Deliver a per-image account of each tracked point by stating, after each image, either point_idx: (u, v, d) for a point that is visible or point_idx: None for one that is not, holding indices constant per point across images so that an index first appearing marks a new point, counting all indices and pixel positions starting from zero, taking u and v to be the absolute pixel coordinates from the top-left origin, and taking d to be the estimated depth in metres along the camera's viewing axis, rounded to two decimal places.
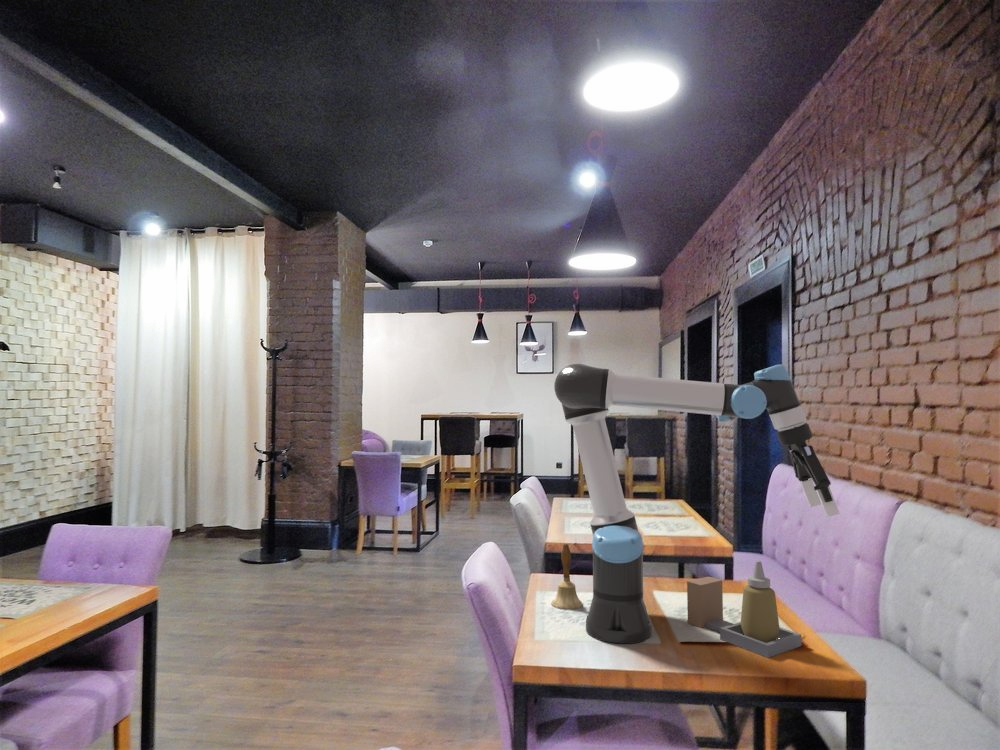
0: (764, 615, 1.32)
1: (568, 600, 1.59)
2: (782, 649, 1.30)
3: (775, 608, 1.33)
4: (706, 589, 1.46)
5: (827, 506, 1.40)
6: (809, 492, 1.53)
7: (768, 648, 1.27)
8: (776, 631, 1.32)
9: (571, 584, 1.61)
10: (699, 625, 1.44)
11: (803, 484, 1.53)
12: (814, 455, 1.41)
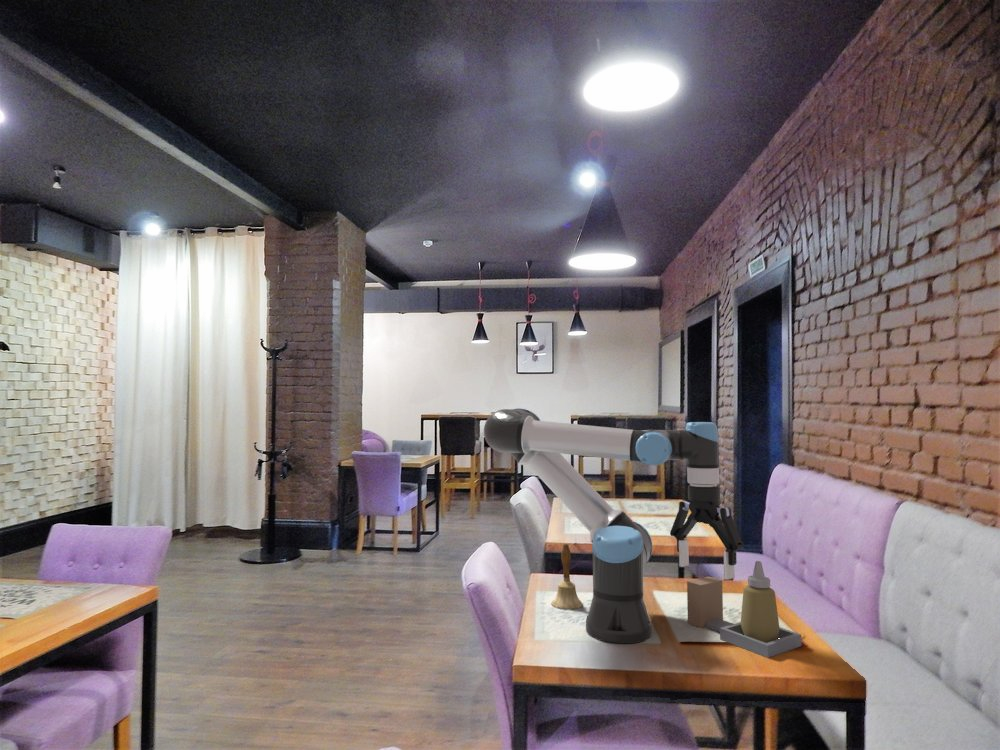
0: (764, 615, 1.32)
1: (568, 600, 1.59)
2: (782, 649, 1.30)
3: (775, 608, 1.33)
4: (706, 589, 1.46)
5: (728, 569, 1.42)
6: (684, 552, 1.54)
7: (768, 648, 1.27)
8: (776, 631, 1.32)
9: (571, 584, 1.61)
10: (699, 625, 1.44)
11: (682, 543, 1.54)
12: (731, 517, 1.44)
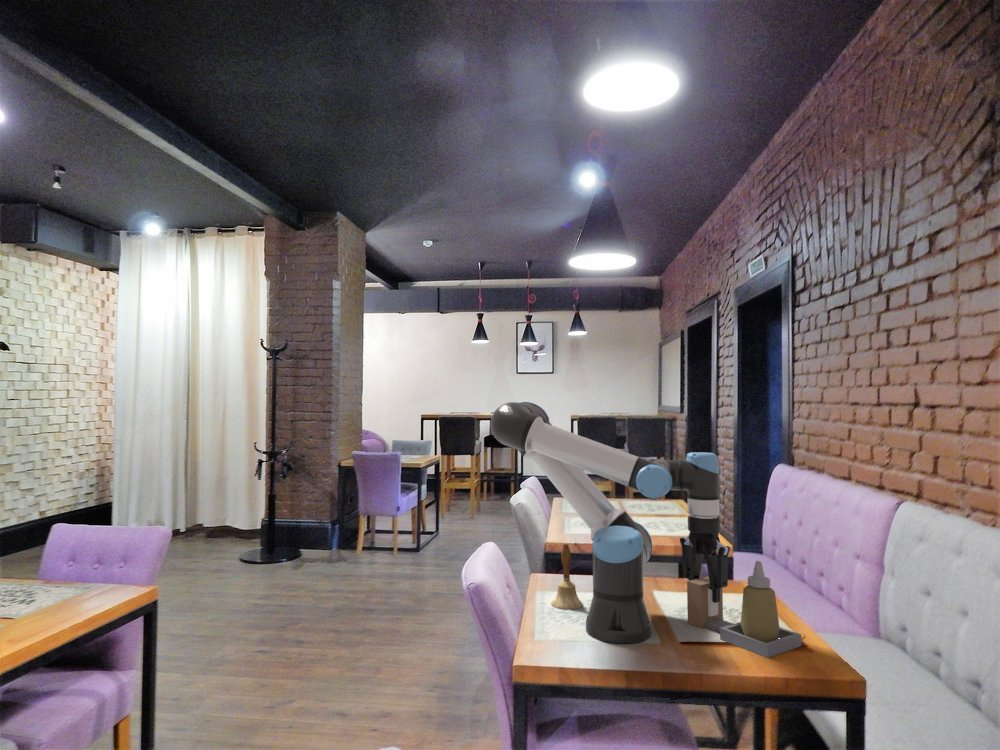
0: (764, 615, 1.32)
1: (568, 600, 1.59)
2: (782, 649, 1.30)
3: (775, 608, 1.33)
4: (706, 589, 1.46)
5: (712, 606, 1.45)
6: None
7: (768, 648, 1.27)
8: (776, 631, 1.32)
9: (571, 584, 1.61)
10: (699, 625, 1.44)
11: None
12: (726, 557, 1.44)
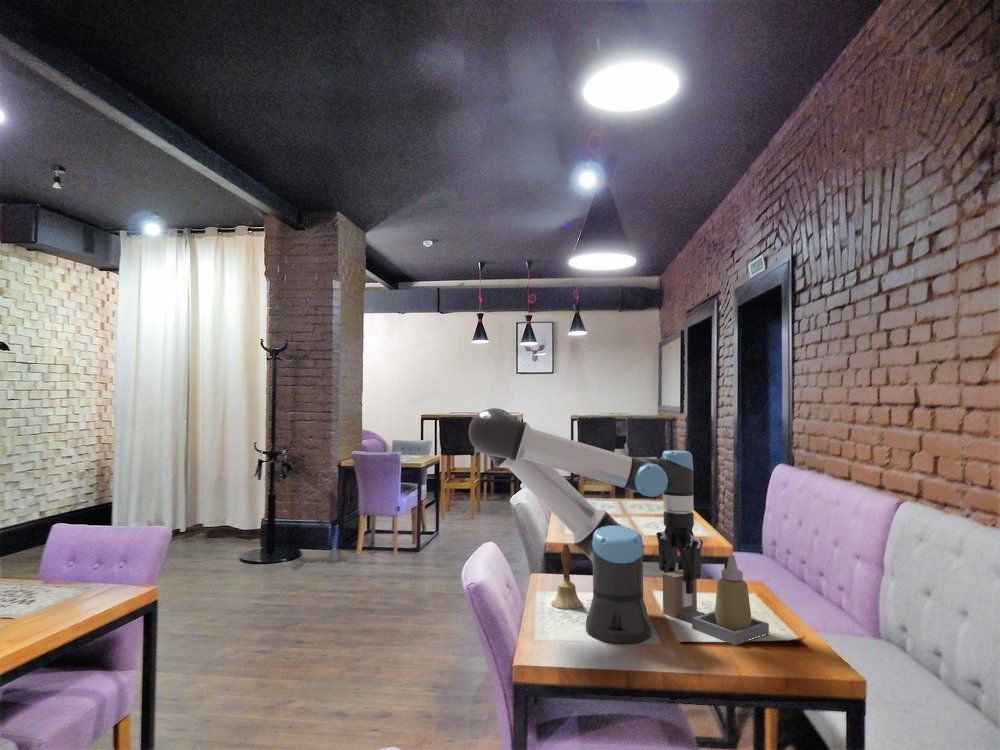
0: (738, 606, 1.38)
1: (568, 600, 1.59)
2: (749, 637, 1.36)
3: (747, 599, 1.39)
4: (680, 581, 1.52)
5: (686, 597, 1.52)
6: None
7: (735, 636, 1.34)
8: (748, 621, 1.38)
9: (571, 584, 1.61)
10: (673, 615, 1.51)
11: None
12: (699, 550, 1.51)
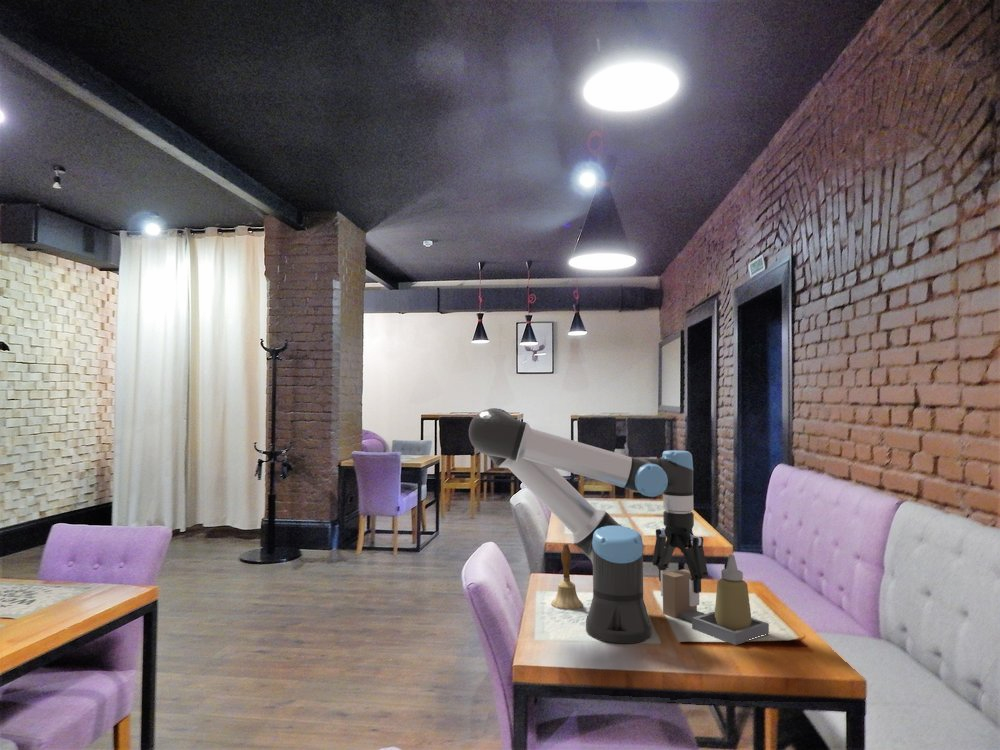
0: (737, 606, 1.38)
1: (568, 600, 1.59)
2: (749, 637, 1.36)
3: (747, 599, 1.39)
4: (680, 581, 1.52)
5: (693, 596, 1.50)
6: None
7: (735, 636, 1.34)
8: (748, 621, 1.38)
9: (571, 584, 1.61)
10: (673, 615, 1.51)
11: None
12: (702, 547, 1.50)
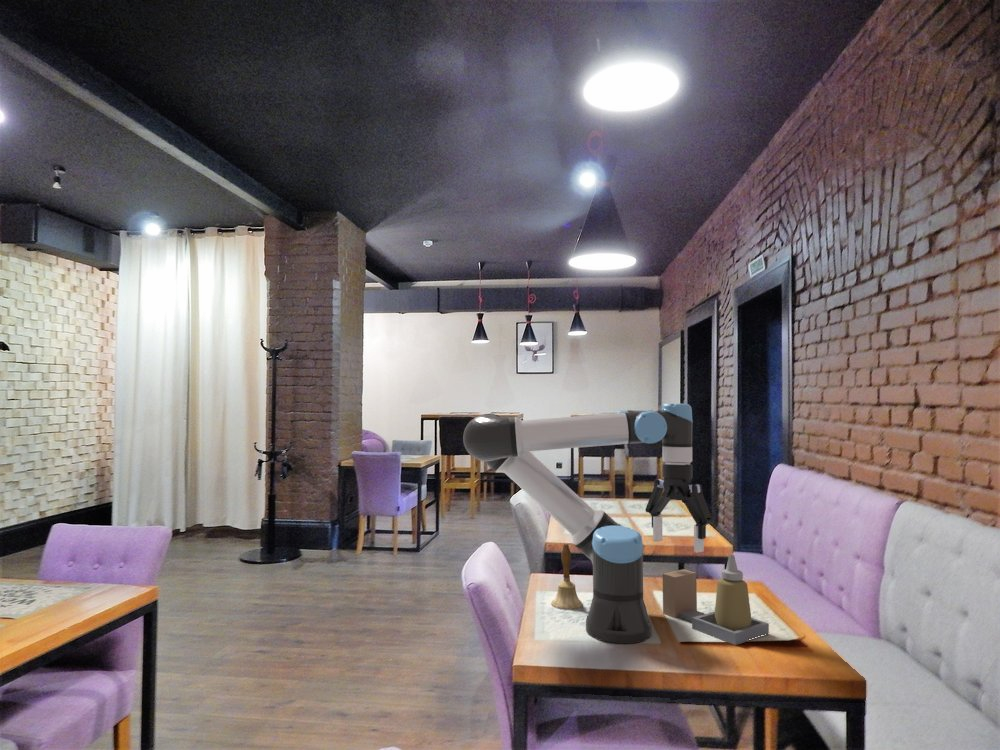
0: (737, 606, 1.38)
1: (568, 600, 1.59)
2: (749, 637, 1.36)
3: (747, 599, 1.39)
4: (680, 581, 1.52)
5: (698, 542, 1.49)
6: (657, 527, 1.61)
7: (735, 636, 1.34)
8: (748, 621, 1.38)
9: (571, 584, 1.61)
10: (673, 615, 1.51)
11: (656, 519, 1.61)
12: (701, 494, 1.51)
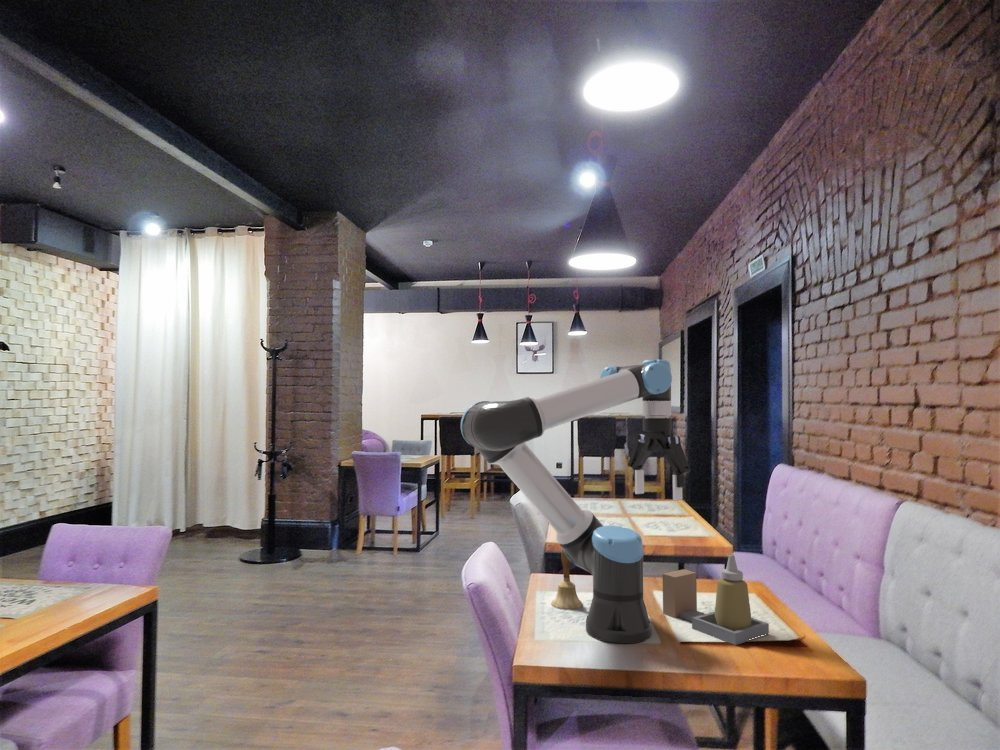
0: (737, 606, 1.38)
1: (568, 600, 1.59)
2: (749, 637, 1.36)
3: (747, 599, 1.39)
4: (680, 581, 1.52)
5: (676, 491, 1.56)
6: (639, 480, 1.68)
7: (735, 636, 1.34)
8: (748, 621, 1.38)
9: (571, 584, 1.61)
10: (673, 615, 1.51)
11: (637, 472, 1.67)
12: (680, 445, 1.57)
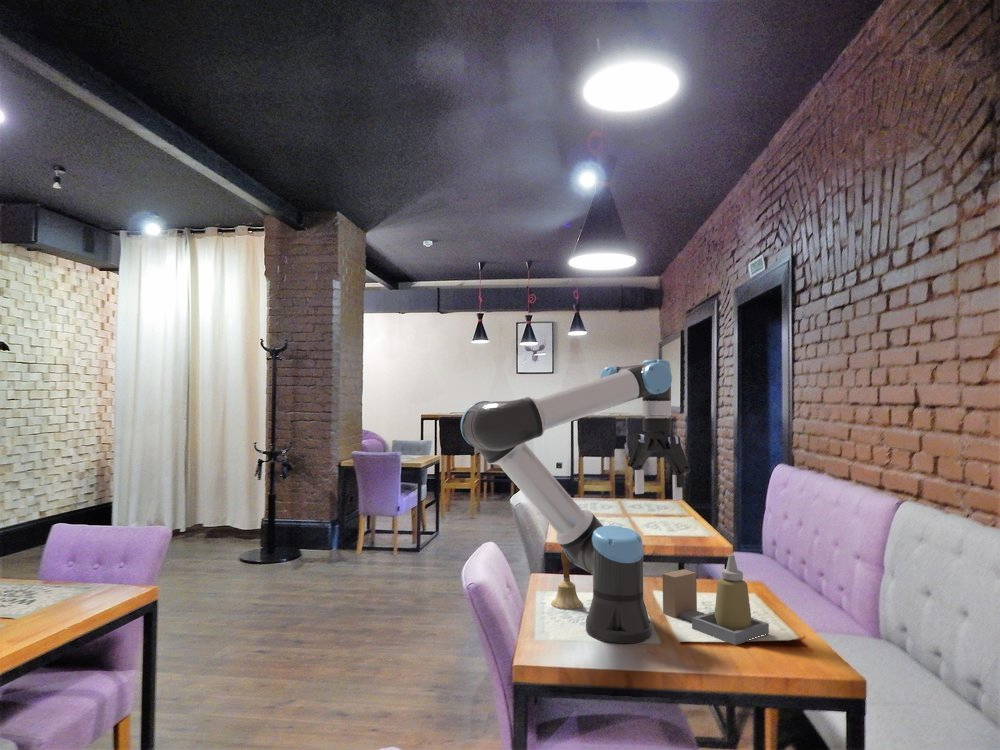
0: (737, 606, 1.38)
1: (568, 600, 1.59)
2: (749, 637, 1.36)
3: (747, 599, 1.39)
4: (680, 581, 1.52)
5: (676, 491, 1.56)
6: (639, 480, 1.68)
7: (735, 636, 1.34)
8: (748, 621, 1.38)
9: (571, 584, 1.61)
10: (673, 615, 1.51)
11: (637, 472, 1.67)
12: (680, 445, 1.57)
